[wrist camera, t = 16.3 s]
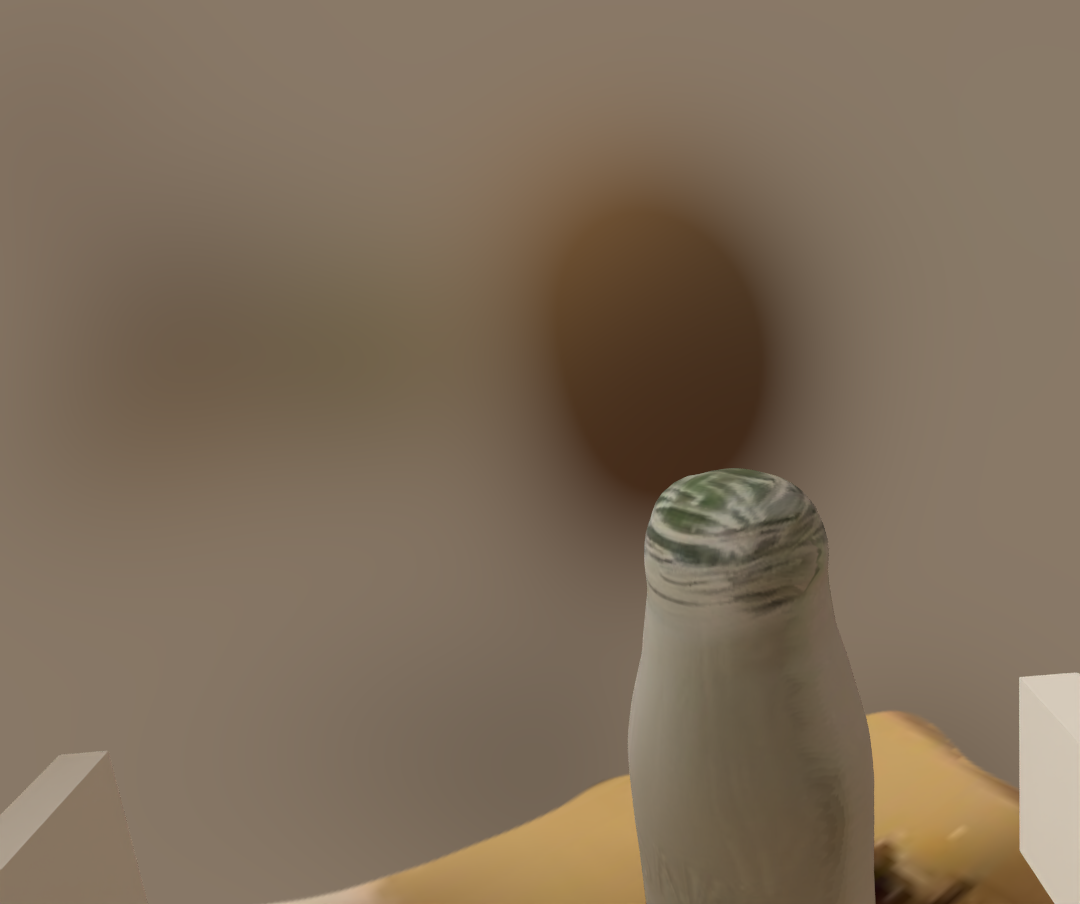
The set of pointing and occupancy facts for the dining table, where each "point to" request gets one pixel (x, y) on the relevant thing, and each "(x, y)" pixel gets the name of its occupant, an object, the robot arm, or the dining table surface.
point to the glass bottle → (747, 705)
